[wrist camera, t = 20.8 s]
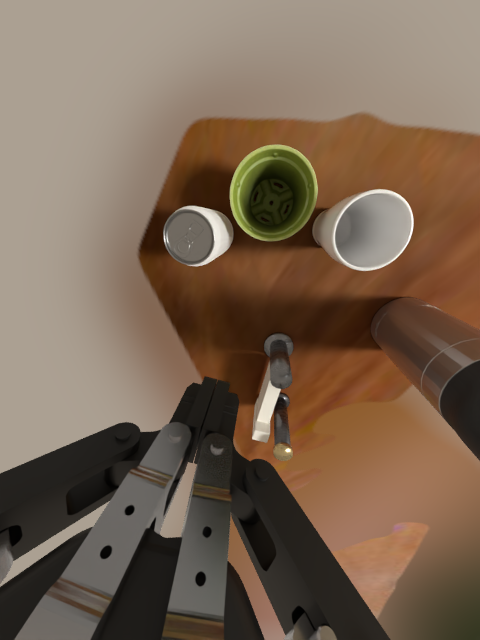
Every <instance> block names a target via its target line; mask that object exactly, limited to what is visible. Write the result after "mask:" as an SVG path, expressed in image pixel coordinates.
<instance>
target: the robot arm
mask: <svg viewBox="0 0 480 640" xmlns="http://www.w3.org/2000/svg"><path fill="white" fill-rule="evenodd" d="M371 334H372V337H373V339H374V341H375V342H376V343H377V344H378V345H379V346H380V348H381V349H382V350H383V351H384V352H385V353H386V355H387V356H388V357H389V358H390V359H391V360H392V361H393V362H394V364H395V365H396V366H397V367H398V368H399V369H400V370H401V371H402V373H403V374H404V375H405V376H406V377H407V378H408V379H409V380H410V381H411V383H412V384H413V385H414V386H415V387H416V388H417V389H418V390H419V392H421V394H422V395H423V396H424V397H425V398H426V399H427V400H428V401H429V403H430V404H431V405H432V406H433V407H434V408H435V409H436V410H437V411H438V413H439V414H440V415H441V416H442V417H443V418H444V419H445V420H446V421H447V423H448V424H449V425H450V426H451V427H452V428H453V429H454V430H455V431H456V433H457V434H458V436H459V437H460V438H461V440H462V441H463V442H464V443H465V444H466V445H467V447H468V448H469V449H470V450H471V451H472V452H473V454H474V455H475V456H476V457H477V458H478V459H479V460H480V330H479V329H477V328H475V327H473V326H471V325H469V324H467V323H465V322H463V321H461V320H459V319H457V318H455V317H453V316H451V315H449V314H448V313H446V312H444V311H442V310H440V309H438V308H436V307H434V306H432V305H430V304H428V303H426V302H424V301H422V300H420V299H417V298H412V297H404V298H399V299H396V300H393V301H391V302H389V303H387V304H385V305H384V306H383V307H382V308H380V309H379V311H378V312H377V313H376V314H375V316H374V318H373V320H372V323H371ZM216 383H217V385H216ZM229 386H230V383H228V382H225V381H221V380H218V382H217V379H213V378H210V377H206V376H205V377H204V380H203V382H202V384H201V385H200V384H197V383H192V384H191V385H190V386H189V387H187V389H186V391H185V393H184V395H183V397H182V399H181V401H180V403H179V405H178V407H177V409H176V411H175V413H174V415H173V417H172V419H171V421H170V422H169V424H167V425H165V426H164V427H163V428H162V429H161V430H159V431H154V432H140V429H139V427H138V426H136V425H135V424H133V423H127V422H125V423H119V424H116V425H114V426H112V427H109V428H107V429H104V430H102V431H100V432H98V433H95V434H93V435H90V436H88V437H86V438H83V439H81V440H78V441H76V442H74V443H71V444H69V445H67V446H64V447H62V448H60V449H57V450H55V451H53V452H50V453H48V454H45V455H43V456H41V457H38V458H36V459H34V460H31V461H29V462H27V463H24V464H22V465H19V466H17V467H15V468H12V469H10V470H8V471H5V472H3V473H1V474H0V583H1V582H2V581H3V579H4V578H5V577H6V575H7V574H8V572H9V570H10V568H11V566H12V563H13V561H14V560H16V559H18V558H19V557H21V556H22V555H24V554H26V553H27V552H29V551H30V550H32V549H33V548H35V547H37V546H38V545H40V544H41V543H43V542H45V541H46V540H48V539H49V538H51V537H52V536H54V535H56V534H57V533H59V532H60V531H62V530H64V529H65V528H67V527H68V526H70V525H72V524H73V523H75V522H76V521H78V520H80V519H81V518H83V517H84V516H86V515H88V514H89V513H91V512H92V511H94V510H96V509H97V508H99V507H100V506H102V505H104V504H105V503H106V502H108V501H110V502H109V504H108V505H107V506H106V508H105V509H104V511H103V513H102V514H101V516H100V517H99V519H98V520H97V522H96V523H95V525H94V527H91V528H89V529H86V530H84V531H82V532H80V533H78V534H76V535H75V536H73V537H72V538H70V539H68V540H67V541H65V542H64V543H63V544H61V545H60V546H58V547H57V548H56V549H54V550H53V551H51V552H50V553H48V554H47V555H45V556H44V557H43V558H41V559H40V560H38V561H37V562H36V563H34V564H33V565H31V566H30V567H29V568H27V569H25V570H24V571H23V572H21V573H20V574H18V575H17V576H15V577H14V578H12V579H11V580H10V581H8V582H7V583H5V584H4V585H3V586H1V587H0V640H264V637H263V634H262V632H261V629H260V626H259V624H258V621H257V619H256V616H255V613H254V611H253V608H252V605H251V603H250V600H249V597H248V595H247V592H246V590H245V587H244V585H243V583H242V581H241V579H240V577H239V575H238V573H237V572H236V570H235V569H234V567H233V566H232V565H231V564H230V563H229V561H228V547H229V532H230V516H231V515H232V519H233V521H234V524H235V526H236V528H237V530H238V532H239V534H240V537H241V539H242V541H243V543H244V545H245V548H246V550H247V552H248V554H249V556H250V558H251V561H252V563H253V565H254V567H255V569H256V572H257V574H258V576H259V578H260V580H261V582H262V585H263V587H264V589H265V591H266V593H267V596H268V598H269V600H270V602H271V604H272V606H273V609H274V611H275V613H276V615H277V617H278V620H279V622H280V624H281V626H282V628H283V631H284V633H285V635H286V637H285V639H284V640H390V638H389V637H388V636H387V634H386V633H385V631H384V630H383V628H382V627H381V625H380V624H379V622H378V621H377V619H376V618H375V616H374V615H373V613H372V612H371V610H370V609H369V607H368V606H367V605H366V603H365V602H364V600H363V599H362V597H361V596H360V594H359V593H358V591H357V590H356V588H355V587H354V585H353V584H352V582H351V581H350V579H349V578H348V576H347V575H346V574H345V572H344V571H343V569H342V568H341V566H340V565H339V563H338V562H337V560H336V559H335V557H334V556H333V554H332V553H331V551H330V550H329V549H328V547H327V546H326V544H325V543H324V541H323V540H322V538H321V537H320V535H319V534H318V532H317V531H316V529H315V528H314V527H313V525H312V523H311V522H310V521H309V519H308V517H307V516H306V515H305V513H304V512H303V510H302V509H301V507H300V506H299V504H298V503H297V501H296V500H295V498H294V497H293V495H292V494H291V492H290V491H289V489H288V488H287V486H286V485H285V483H284V482H283V481H282V479H281V478H280V476H279V475H278V473H277V472H276V470H275V469H274V467H273V466H272V465H271V464H270V463H268V462H267V461H265V460H262V459H254V460H252V461H249V460H247V459H245V458H244V457H242V456H241V455H240V454H239V453H238V452H237V451H236V450H235V447H234V444H233V436H234V430H235V424H236V418H237V412H238V406H239V399H238V396H237V394H234V393H230V392H228V390H229ZM215 387H216V388H215ZM196 451H197V453H196ZM195 454H196V457H195ZM194 457H195V461H194V463H195V464H197V467H196V471H195V475H194V479H193V483H192V488H191V492H190V497H189V501H188V506H187V511H186V515H185V520H184V524H183V529H182V533H181V537H176V538H164V537H162V536H161V535H159V534H160V531H161V527H162V524H163V522H164V519H165V517H166V515H167V512H168V510H169V507H170V505H171V503H172V501H173V498H174V495H175V493H176V491H177V489H178V486H179V484H180V482H181V479H182V476H183V474H184V472H185V469H186V466H187V464H188V462H191V463H193V460H194Z"/></svg>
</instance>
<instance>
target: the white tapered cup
mask: <svg viewBox="0 0 480 640" xmlns="http://www.w3.org/2000/svg"><path fill="white" fill-rule="evenodd" d="M412 231H413V214H412V211H411V208H410V206H409V204H408V203H407V202H406V200H405V199H404V198H403V197H402V196H400V195H399V194H397V193H395V192H392V191H389V190H383V189H377V190H370V191H365V192H361V193H357V194H354V195H351V196H349V197H347V198H345V199H343V200H341V201H340V202H338V203H337V204H335V205H334V206H332V207H331V208H329V209H327V210H325V211H323V212H322V213H321V214H319V216H318V217H317V218H316V220H315V222H314V224H313V229H312V233H313V237H314V240H315V241H316V243H317V244H318V245H320V246H321V247H322V248H323V249H324V250H325V251H326V253H327V254H328V255H329V256H330V257H331V258H333V259H334V260H335V261H337V262H338V263H340V264H342V265H344V266H347V267H349V268H352V269H355V270H360V271H370V270H375V269H378V268H381V267H384V266H386V265H387V264H389V263H391V262H392V261H393V260H395V259H396V258H397V257H398V256H399V255H400V254H401V253H402V252H403V250H404V249H405V248H406V246H407V244H408V242H409V240H410V238H411V235H412Z"/></svg>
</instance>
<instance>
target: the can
mask: <svg viewBox="0 0 480 640" xmlns="http://www.w3.org/2000/svg"><path fill="white" fill-rule="evenodd" d="M163 239H164V243H165V246H166V249H167V250H168V252H169V253H170V255H171V256H172V257H173V258H174V259H176V260H177V261H179V262H180V263H183V264H186V265H189V266H201V265H205V264H207V263H209V262H211V261H212V260H214V259H215V258H217V257H218V256H220V255H221V254H223V253H224V252H225V251H227V250H228V248H229V247H230V245H231V243H232V241H233V227H232V224H231V222H230V220H229V219H228V218H227V217H226V216H225V215H224V214H223V213H221V212H219V211H216V210H212V209H207V208H203V207H198V206H186V207H182V208H180V209H178V210H177V211H175V212H174V213H173V214H172V215H171V216H170V217H169V218H168V220H167V221H166V223H165V226H164V230H163Z"/></svg>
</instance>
